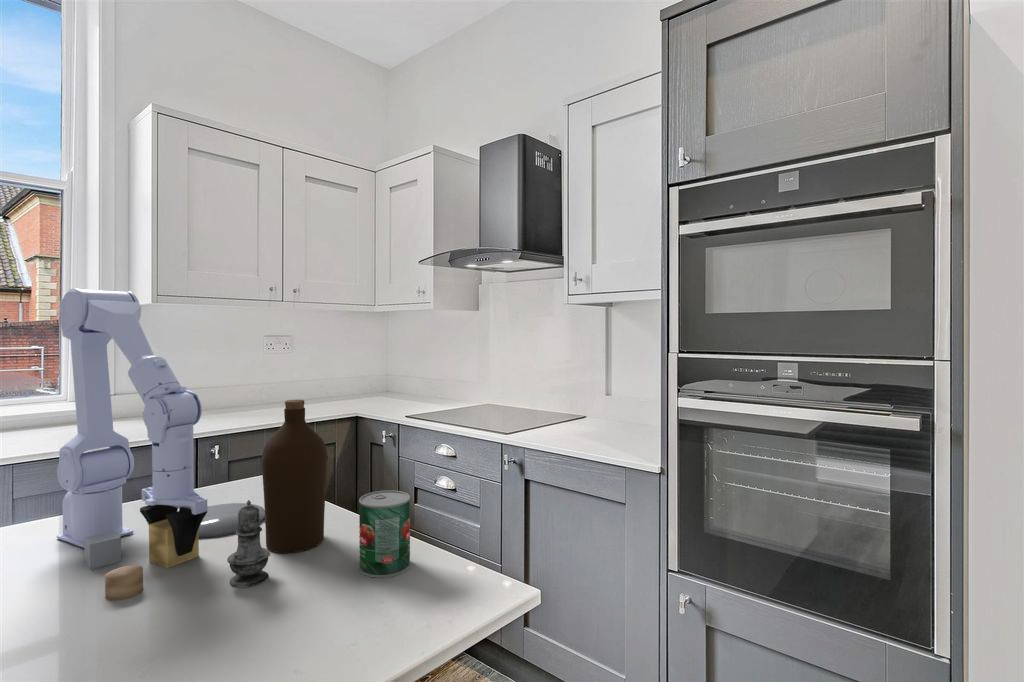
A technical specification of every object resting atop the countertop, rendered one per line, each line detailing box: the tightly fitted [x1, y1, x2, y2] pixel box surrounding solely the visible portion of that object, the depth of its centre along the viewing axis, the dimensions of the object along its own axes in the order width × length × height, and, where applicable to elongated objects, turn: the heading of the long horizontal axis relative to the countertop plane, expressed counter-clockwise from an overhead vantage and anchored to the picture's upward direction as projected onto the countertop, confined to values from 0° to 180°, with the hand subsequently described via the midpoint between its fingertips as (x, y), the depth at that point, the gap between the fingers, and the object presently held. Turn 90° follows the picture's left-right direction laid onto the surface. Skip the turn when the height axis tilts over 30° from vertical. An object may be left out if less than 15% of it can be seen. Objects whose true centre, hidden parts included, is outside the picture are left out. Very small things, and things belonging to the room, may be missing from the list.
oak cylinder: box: [104, 564, 144, 601], centre depth 78 cm, size 4×4×3 cm
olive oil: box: [261, 399, 328, 554], centre depth 95 cm, size 11×11×25 cm
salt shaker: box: [226, 499, 271, 589], centre depth 82 cm, size 6×6×12 cm
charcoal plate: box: [199, 502, 265, 539], centre depth 105 cm, size 16×16×1 cm
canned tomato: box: [358, 489, 411, 579], centre depth 86 cm, size 8×8×11 cm
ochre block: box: [148, 519, 200, 569], centre depth 89 cm, size 5×5×6 cm
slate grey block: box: [83, 531, 122, 570], centre depth 88 cm, size 4×4×4 cm
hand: (174, 550), depth 89 cm, fingers closed on ochre block, 5 cm apart
